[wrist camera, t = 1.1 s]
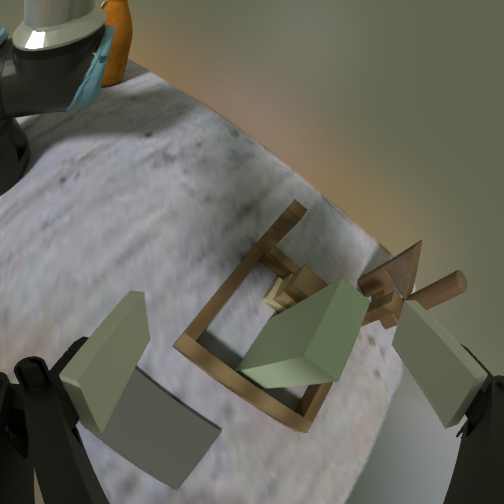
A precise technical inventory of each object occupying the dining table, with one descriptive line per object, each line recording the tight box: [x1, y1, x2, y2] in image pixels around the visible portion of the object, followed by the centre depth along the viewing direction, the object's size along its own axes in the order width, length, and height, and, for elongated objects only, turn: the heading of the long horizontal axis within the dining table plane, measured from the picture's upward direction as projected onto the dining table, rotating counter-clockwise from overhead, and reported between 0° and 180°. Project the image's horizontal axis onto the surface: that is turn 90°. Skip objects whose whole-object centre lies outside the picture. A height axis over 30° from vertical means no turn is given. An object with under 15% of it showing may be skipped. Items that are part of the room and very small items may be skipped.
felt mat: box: [79, 369, 221, 490], centre depth 26 cm, size 14×10×1 cm
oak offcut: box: [273, 273, 297, 309], centre depth 38 cm, size 8×4×3 cm, turn 63°
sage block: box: [235, 277, 370, 389], centre depth 30 cm, size 4×9×16 cm, turn 147°
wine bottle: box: [100, 0, 132, 87], centre depth 36 cm, size 10×10×30 cm
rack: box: [173, 200, 403, 433], centre depth 33 cm, size 20×20×12 cm
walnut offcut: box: [283, 265, 328, 303], centre depth 36 cm, size 7×4×3 cm, turn 56°
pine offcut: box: [262, 277, 287, 313], centre depth 41 cm, size 9×4×3 cm, turn 60°
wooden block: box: [358, 240, 467, 329], centre depth 42 cm, size 4×11×18 cm, turn 34°
